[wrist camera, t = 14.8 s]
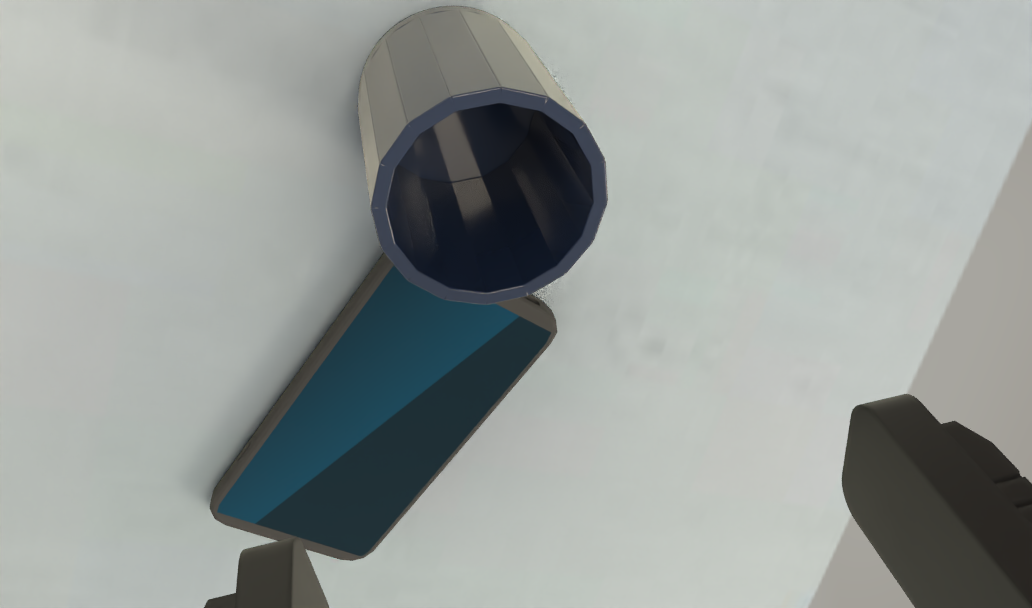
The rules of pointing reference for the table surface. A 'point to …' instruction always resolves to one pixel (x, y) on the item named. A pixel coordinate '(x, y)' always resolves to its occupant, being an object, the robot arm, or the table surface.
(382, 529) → the smartphone
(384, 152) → the pot
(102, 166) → the table surface
